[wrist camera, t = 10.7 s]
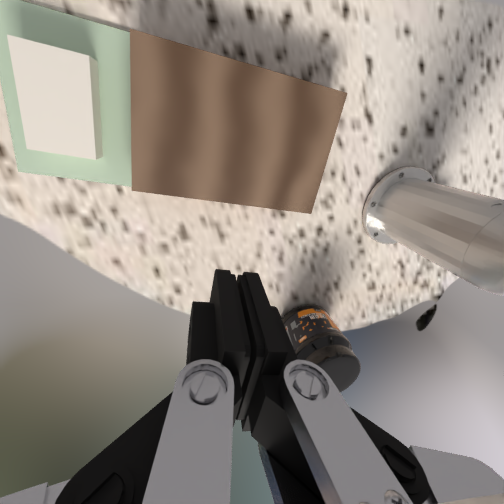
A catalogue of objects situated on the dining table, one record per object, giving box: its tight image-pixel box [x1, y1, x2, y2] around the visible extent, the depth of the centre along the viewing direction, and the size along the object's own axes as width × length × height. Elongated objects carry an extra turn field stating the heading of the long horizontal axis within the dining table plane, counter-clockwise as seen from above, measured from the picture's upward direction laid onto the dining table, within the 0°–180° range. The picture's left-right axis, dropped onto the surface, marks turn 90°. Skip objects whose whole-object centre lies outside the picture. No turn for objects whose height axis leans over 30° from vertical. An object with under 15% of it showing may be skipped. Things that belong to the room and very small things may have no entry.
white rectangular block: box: [7, 35, 103, 160], centre depth 24 cm, size 6×9×2 cm, turn 168°
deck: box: [130, 29, 347, 214], centre depth 29 cm, size 22×14×4 cm, turn 78°
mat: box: [0, 0, 132, 187], centre depth 26 cm, size 12×15×1 cm
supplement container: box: [282, 305, 361, 392], centre depth 43 cm, size 10×10×12 cm
